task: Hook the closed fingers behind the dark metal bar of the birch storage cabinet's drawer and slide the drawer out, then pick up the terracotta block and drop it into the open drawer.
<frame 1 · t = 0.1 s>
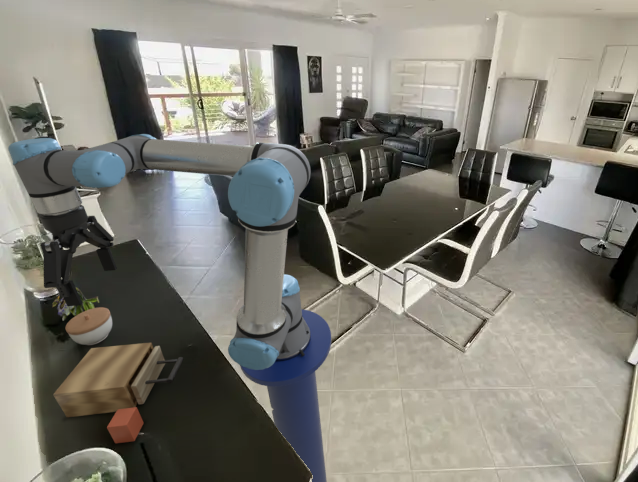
hand: (94, 286, 80), 30 cm above the sideboard, tool pointing down, fingers open, 13 cm apart
drawer: (136, 375, 86), point 4 cm above the sideboard, slide at 1.0 cm
trinket box: (96, 338, 103), on the sideboard
passion flower: (81, 313, 113), on the sideboard
cabinet: (117, 388, 87), on the sideboard
block: (129, 433, 77), on the sideboard
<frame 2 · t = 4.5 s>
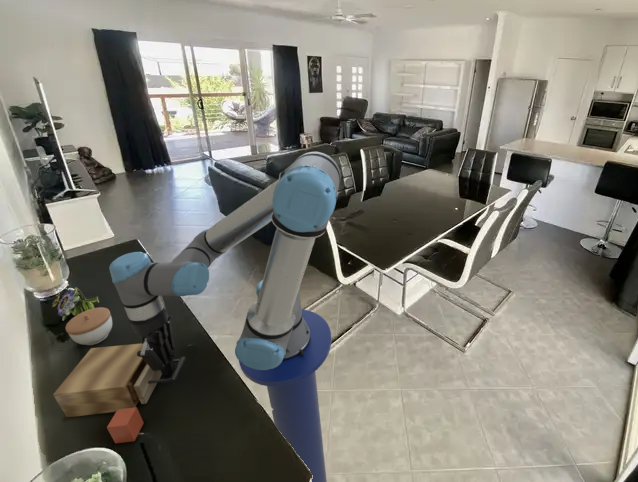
hand: (171, 377, 88), 2 cm above the sideboard, tool pointing down, fingers closed
drawer: (139, 374, 86), point 4 cm above the sideboard, slide at 1.7 cm, touching gripper
everything else where it was.
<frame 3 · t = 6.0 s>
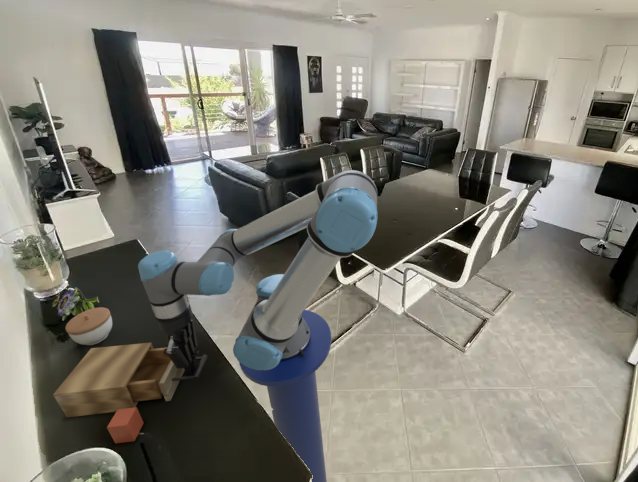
hand: (194, 375, 89), 2 cm above the sideboard, tool pointing down, fingers closed
drawer: (162, 372, 87), point 4 cm above the sideboard, slide at 7.5 cm
everything else where it was.
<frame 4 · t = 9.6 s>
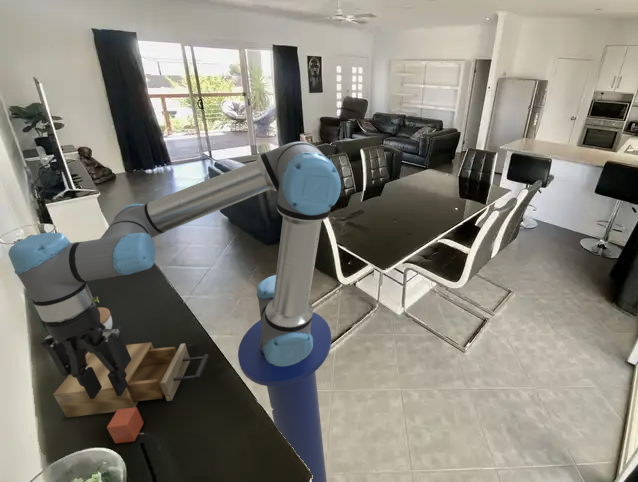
hand: (109, 391, 71), 15 cm above the sideboard, tool pointing down, fingers open, 5 cm apart
drawer: (163, 372, 87), point 4 cm above the sideboard, slide at 7.8 cm
everything else where it was.
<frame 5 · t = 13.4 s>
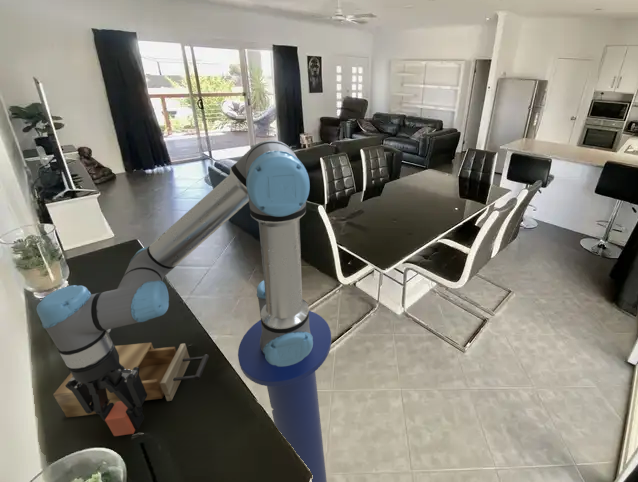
hand: (128, 424, 76), 3 cm above the sideboard, tool pointing down, fingers closed on block, 4 cm apart
block: (128, 425, 76), point 3 cm above the sideboard, touching gripper
everything else where it was.
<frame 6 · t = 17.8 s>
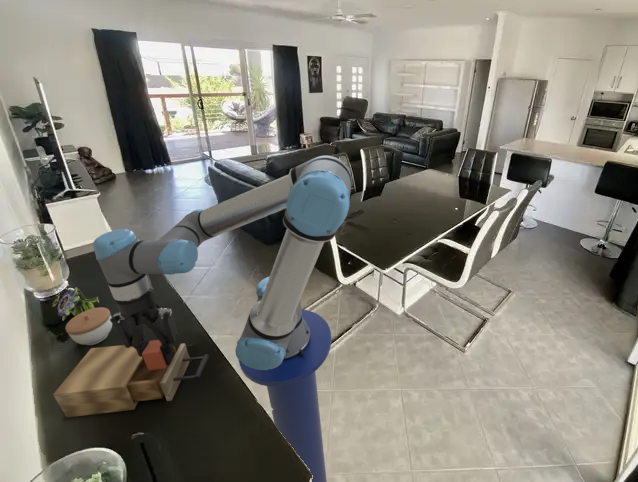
hand: (160, 361, 85), 8 cm above the sideboard, tool pointing down, fingers closed on block, 4 cm apart
block: (160, 362, 86), point 8 cm above the sideboard, touching gripper
everything else where it was.
when the fingers open (9 cm above the sideboard, at t = 21.1 s): block drops 7 cm, resting on drawer.
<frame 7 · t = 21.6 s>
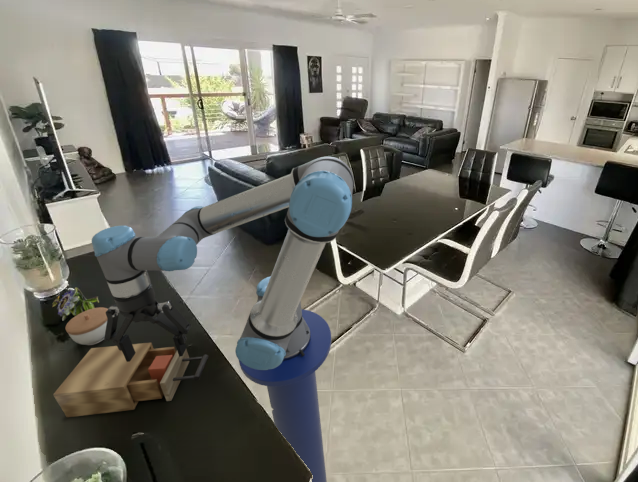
hand: (157, 354, 84), 11 cm above the sideboard, tool pointing down, fingers open, 12 cm apart
drawer: (163, 372, 87), point 4 cm above the sideboard, slide at 7.7 cm, touching block
block: (166, 377, 88), point 2 cm above the sideboard, touching drawer
everything else where it was.
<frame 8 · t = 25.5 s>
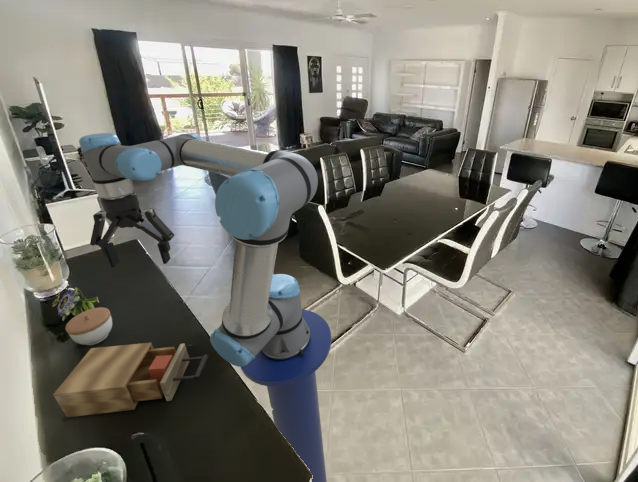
hand: (141, 263, 92), 29 cm above the sideboard, tool pointing down, fingers open, 13 cm apart
nothing on the sideboard moved.
at the end: drawer slide at 7.7 cm; block inside the target area in the drawer (0.4 cm from its centre), point 2.0 cm above the cabinet's base; the gripper is holding nothing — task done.
